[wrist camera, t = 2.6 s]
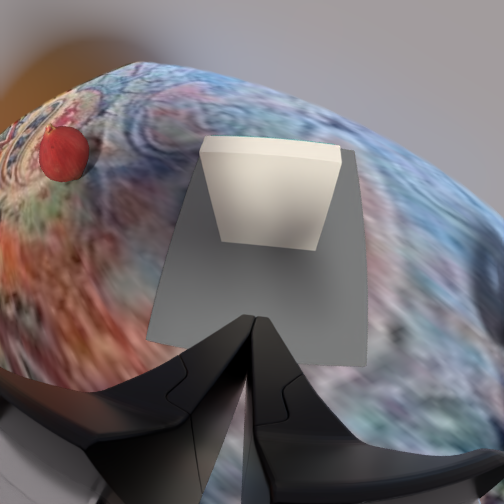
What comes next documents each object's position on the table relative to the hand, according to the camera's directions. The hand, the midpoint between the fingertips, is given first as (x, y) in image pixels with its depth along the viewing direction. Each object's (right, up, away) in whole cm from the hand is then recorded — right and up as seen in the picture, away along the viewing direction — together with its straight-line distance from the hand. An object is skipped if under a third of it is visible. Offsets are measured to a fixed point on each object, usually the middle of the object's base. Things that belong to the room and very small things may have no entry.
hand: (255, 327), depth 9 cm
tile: (+1, +6, +8) cm, 10 cm away
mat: (+1, +4, +13) cm, 14 cm away
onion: (-20, +11, +18) cm, 29 cm away
